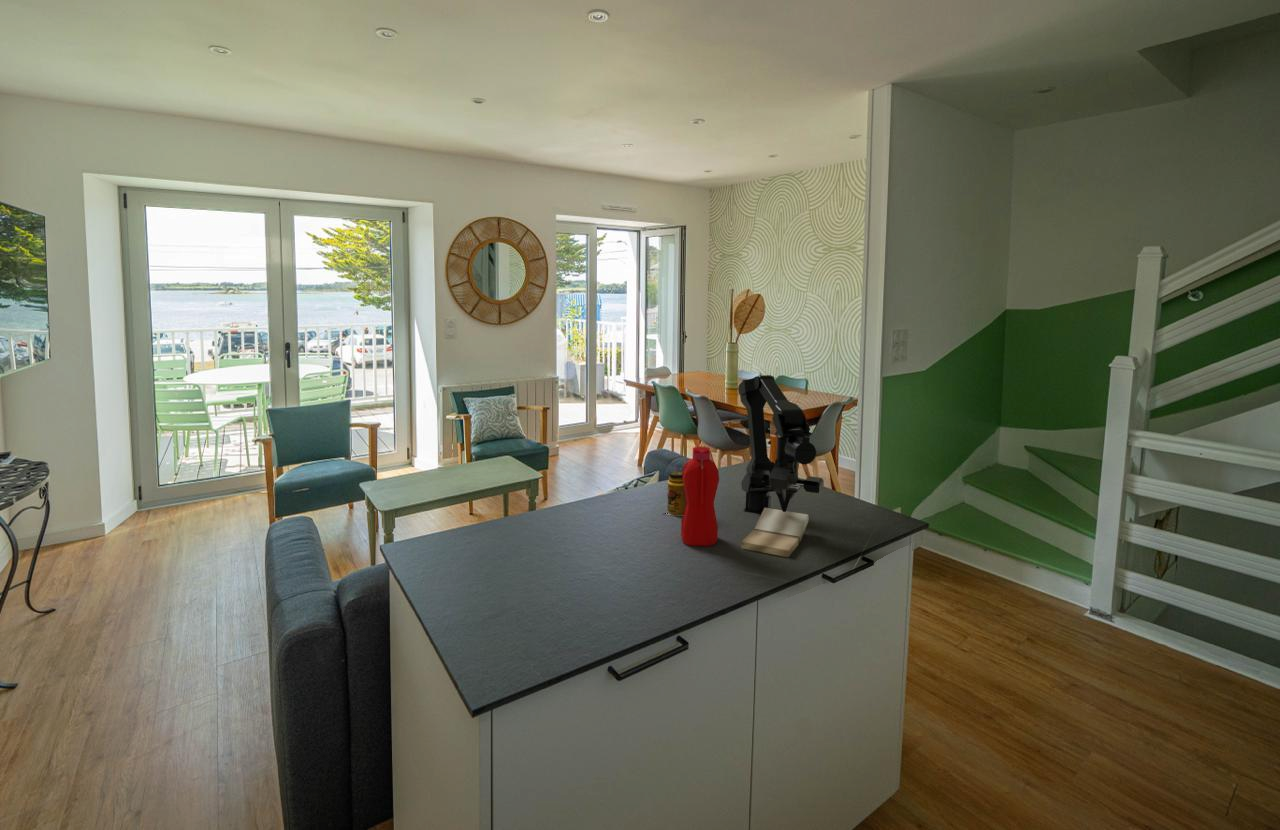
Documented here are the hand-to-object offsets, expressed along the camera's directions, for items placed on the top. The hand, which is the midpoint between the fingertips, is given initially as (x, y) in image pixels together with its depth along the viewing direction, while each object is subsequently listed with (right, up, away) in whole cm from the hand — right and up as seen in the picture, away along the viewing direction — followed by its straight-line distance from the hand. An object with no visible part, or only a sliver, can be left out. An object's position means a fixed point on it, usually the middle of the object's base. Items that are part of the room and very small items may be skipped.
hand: (784, 511), depth 175 cm
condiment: (-27, -3, +18) cm, 33 cm away
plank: (-1, -4, -1) cm, 4 cm away
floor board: (-6, -8, -9) cm, 13 cm away
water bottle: (-23, -7, -7) cm, 26 cm away
